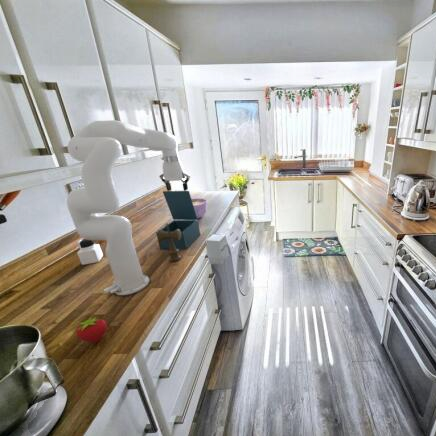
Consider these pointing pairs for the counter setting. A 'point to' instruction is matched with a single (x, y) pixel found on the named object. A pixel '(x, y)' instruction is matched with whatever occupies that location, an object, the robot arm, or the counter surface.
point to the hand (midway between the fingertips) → (177, 190)
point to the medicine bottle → (89, 251)
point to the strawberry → (92, 330)
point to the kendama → (170, 241)
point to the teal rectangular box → (187, 233)
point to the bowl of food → (200, 206)
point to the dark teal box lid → (180, 205)
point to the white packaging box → (217, 249)
